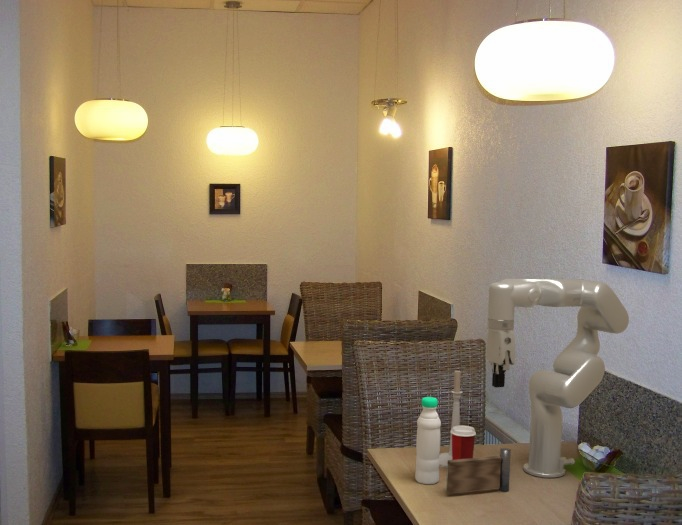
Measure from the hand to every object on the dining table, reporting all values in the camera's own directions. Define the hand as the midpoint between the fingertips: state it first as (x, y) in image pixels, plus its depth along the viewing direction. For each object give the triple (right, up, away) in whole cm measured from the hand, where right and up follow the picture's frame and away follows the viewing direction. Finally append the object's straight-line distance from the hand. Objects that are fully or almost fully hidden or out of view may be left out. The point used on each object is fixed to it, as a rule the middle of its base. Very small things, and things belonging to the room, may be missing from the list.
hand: (498, 386), depth 240 cm
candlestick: (-10, -28, +21) cm, 36 cm away
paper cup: (-9, -28, +10) cm, 32 cm away
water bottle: (-21, -29, +3) cm, 35 cm away
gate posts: (-6, -29, -4) cm, 30 cm away
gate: (-8, -29, -6) cm, 30 cm away
